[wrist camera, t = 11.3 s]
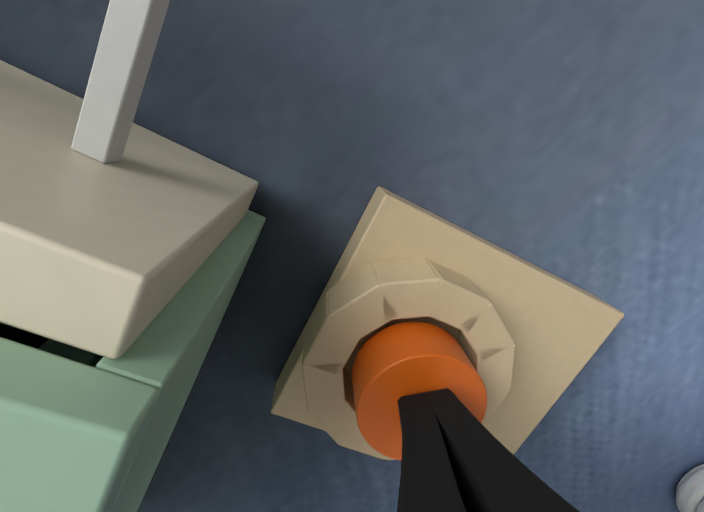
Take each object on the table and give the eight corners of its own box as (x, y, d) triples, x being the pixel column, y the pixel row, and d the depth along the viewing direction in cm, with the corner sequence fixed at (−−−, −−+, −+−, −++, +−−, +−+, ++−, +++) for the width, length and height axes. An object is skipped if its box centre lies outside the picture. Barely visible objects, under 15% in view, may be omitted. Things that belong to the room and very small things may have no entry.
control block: (269, 381, 15) (254, 453, 12) (371, 181, 13) (389, 200, 9) (473, 452, 17) (510, 530, 14) (593, 294, 15) (672, 342, 11)
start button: (331, 395, 12) (333, 440, 10) (386, 302, 11) (397, 335, 9) (427, 429, 12) (444, 476, 11) (485, 346, 11) (513, 383, 10)
